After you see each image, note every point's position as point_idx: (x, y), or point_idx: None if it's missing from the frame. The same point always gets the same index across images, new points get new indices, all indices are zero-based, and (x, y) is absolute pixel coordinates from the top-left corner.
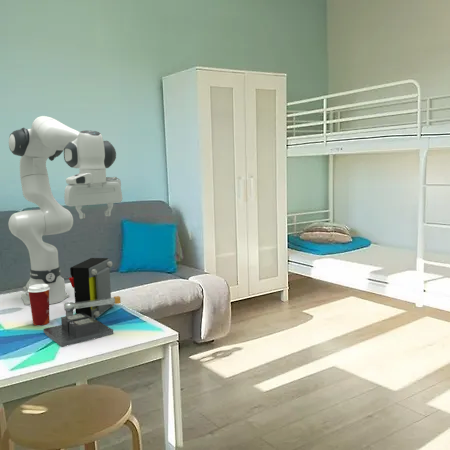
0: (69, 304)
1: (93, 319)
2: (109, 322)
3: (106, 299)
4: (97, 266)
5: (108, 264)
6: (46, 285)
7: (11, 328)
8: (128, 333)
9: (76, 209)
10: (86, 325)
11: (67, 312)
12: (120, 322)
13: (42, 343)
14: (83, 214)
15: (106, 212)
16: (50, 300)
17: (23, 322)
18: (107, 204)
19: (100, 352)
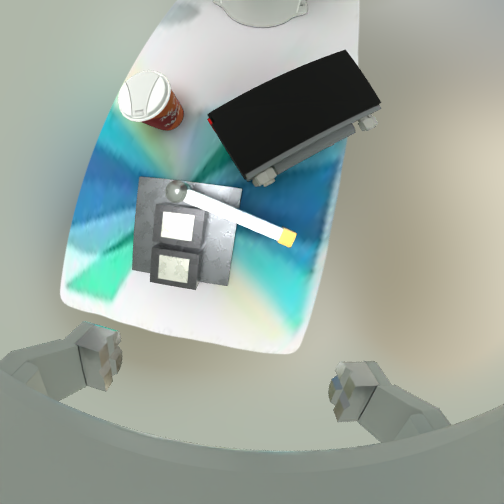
0: (172, 200)
1: (194, 271)
2: None
3: (260, 230)
4: (299, 149)
5: (361, 124)
6: (156, 99)
7: None
8: (248, 301)
9: (19, 362)
10: (171, 284)
11: None
12: None
13: (120, 226)
14: (93, 383)
15: (337, 411)
16: (250, 21)
17: None
18: (411, 436)
19: (169, 331)
